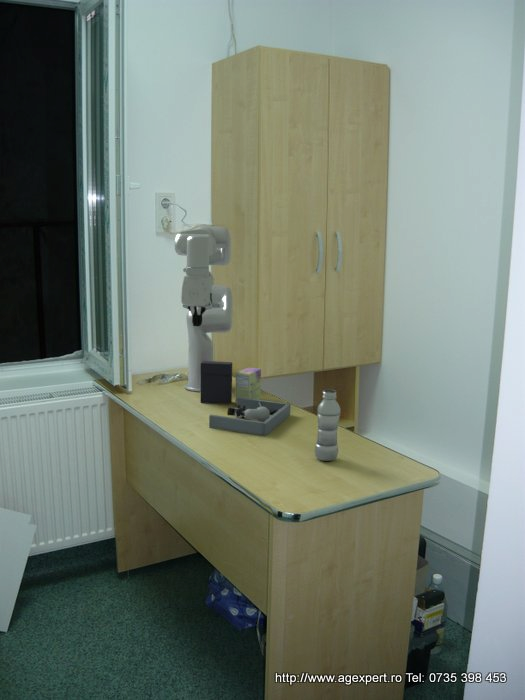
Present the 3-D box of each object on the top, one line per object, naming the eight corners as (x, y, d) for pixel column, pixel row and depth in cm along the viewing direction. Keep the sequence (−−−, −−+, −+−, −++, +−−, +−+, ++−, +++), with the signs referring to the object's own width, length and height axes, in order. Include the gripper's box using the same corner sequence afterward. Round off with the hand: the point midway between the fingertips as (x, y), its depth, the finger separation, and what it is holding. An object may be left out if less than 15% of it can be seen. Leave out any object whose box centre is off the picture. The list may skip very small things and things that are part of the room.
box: (246, 397, 253) (247, 366, 251) (260, 399, 251) (261, 368, 248) (234, 404, 244) (235, 372, 241) (248, 406, 241) (249, 374, 239)
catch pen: (238, 408, 239) (238, 397, 238) (290, 415, 232) (290, 403, 232) (209, 427, 217) (209, 415, 216) (265, 436, 210) (265, 423, 209)
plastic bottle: (310, 457, 193) (313, 389, 189) (331, 454, 196) (334, 387, 192) (320, 465, 187) (324, 395, 183) (342, 462, 190) (346, 393, 186)
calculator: (231, 401, 247) (232, 361, 244) (230, 405, 242) (231, 364, 239) (202, 400, 248) (202, 360, 245) (200, 403, 243) (200, 362, 240)
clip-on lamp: (257, 418, 238) (224, 418, 223) (259, 400, 238) (225, 399, 223) (284, 422, 230) (251, 422, 216) (286, 404, 231) (253, 403, 216)
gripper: (172, 271, 229) (172, 325, 232) (213, 274, 223) (212, 329, 227) (183, 270, 235) (182, 322, 239) (222, 272, 230) (221, 326, 234)
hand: (197, 325), depth 233 cm, fingers closed
